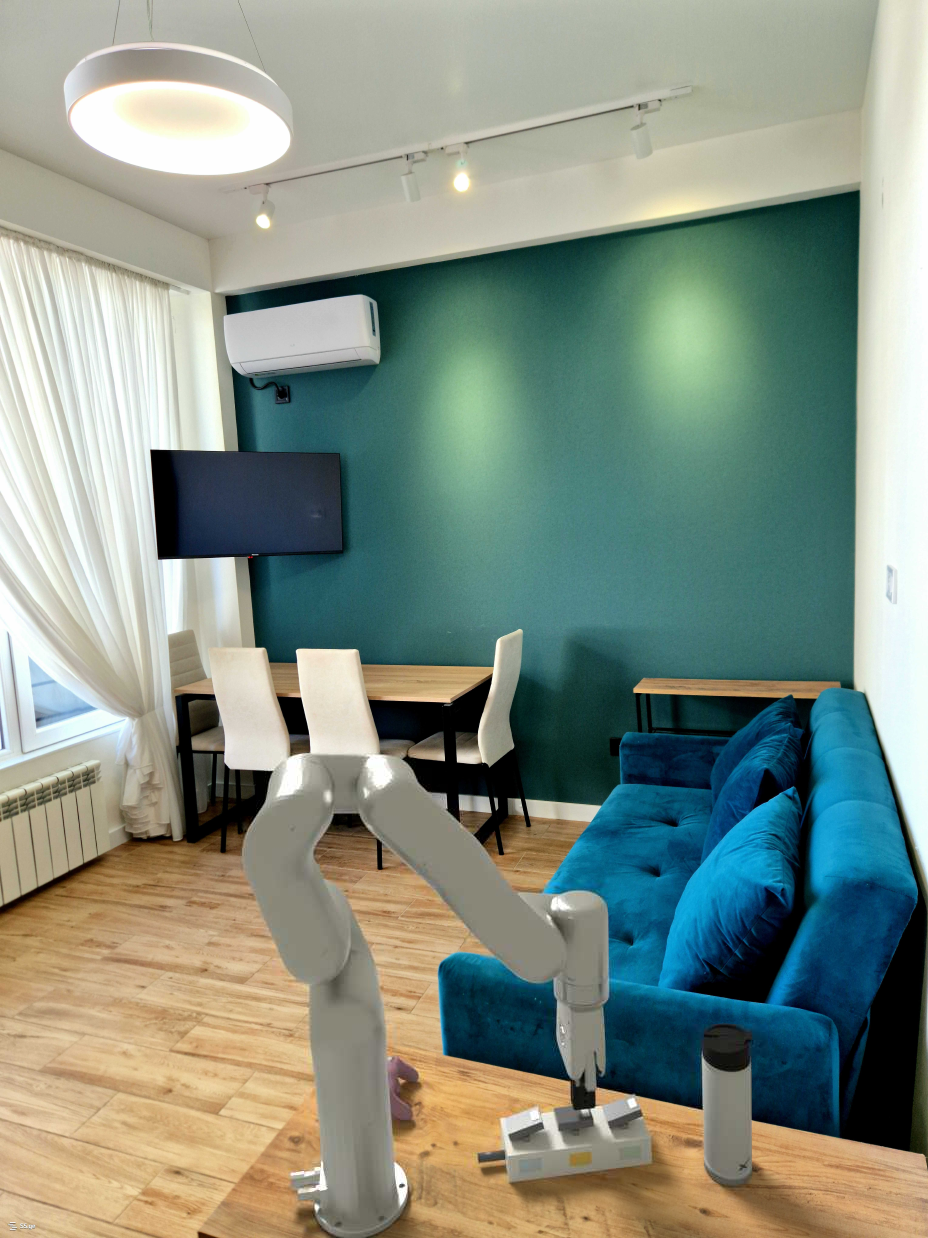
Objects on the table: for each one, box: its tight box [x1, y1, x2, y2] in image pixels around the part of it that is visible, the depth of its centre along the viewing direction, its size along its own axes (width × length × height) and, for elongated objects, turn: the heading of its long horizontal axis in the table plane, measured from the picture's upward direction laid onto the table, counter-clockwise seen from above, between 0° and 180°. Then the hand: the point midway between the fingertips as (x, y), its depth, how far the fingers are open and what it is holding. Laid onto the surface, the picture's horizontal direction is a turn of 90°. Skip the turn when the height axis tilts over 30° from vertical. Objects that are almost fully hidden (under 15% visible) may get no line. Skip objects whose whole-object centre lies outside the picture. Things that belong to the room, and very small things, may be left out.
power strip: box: [476, 1104, 653, 1184], centre depth 114 cm, size 24×7×5 cm, turn 96°
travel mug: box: [701, 1023, 754, 1187], centre depth 109 cm, size 6×7×20 cm
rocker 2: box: [601, 1093, 644, 1129], centre depth 115 cm, size 5×3×1 cm, turn 95°
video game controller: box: [387, 1055, 420, 1122], centre depth 127 cm, size 10×5×7 cm, turn 177°
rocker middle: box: [553, 1105, 594, 1131], centre depth 114 cm, size 5×3×1 cm, turn 96°
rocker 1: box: [504, 1105, 545, 1141], centre depth 114 cm, size 5×3×1 cm, turn 95°
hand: (583, 1105), depth 114 cm, fingers closed
